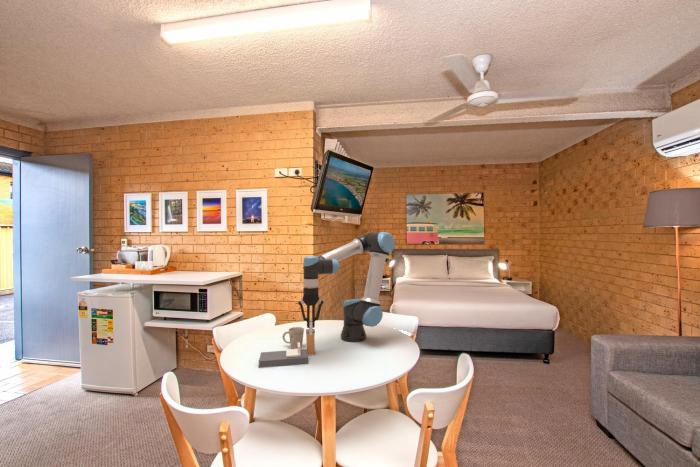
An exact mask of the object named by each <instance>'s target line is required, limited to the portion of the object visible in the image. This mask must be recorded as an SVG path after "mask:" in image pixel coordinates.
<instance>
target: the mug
mask: <svg viewBox="0 0 700 467" xmlns="http://www.w3.org/2000/svg"><path fill="white" fill-rule="evenodd" d="M304 333H305V328H304V327H300V326H293V327H290V328H289V329H288V330H287V331H284V333H283V334H282V340H283V342H284V343H286V344H289V345H290V349H298V342H300V349H302V347H303V342H304V341H303V340H304ZM287 334H289V335H288V336H289V341H287V340H286V339H285V336H286V335H287Z"/></svg>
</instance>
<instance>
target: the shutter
mask: <svg viewBox="0 0 700 467" xmlns="http://www.w3.org/2000/svg"><path fill="white" fill-rule="evenodd" d="M300 349H301V348H300V342H298V349H292V348H288V349H286V350H285V351H286V358H287V357H300V356H301V351H300Z"/></svg>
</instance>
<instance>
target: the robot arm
mask: <svg viewBox="0 0 700 467" xmlns="http://www.w3.org/2000/svg"><path fill="white" fill-rule="evenodd" d="M395 247H396V241H395V238H394V236H393V234H391V233H389V232H388V231H387V232H385V231H380V232H379V231H378V232H367V233H365V234H362V235H360V236H358V237H356V238H354V239H353V240H352V241H351V242H348V243H346V244H344V245H341V246H339V247H337V248H335V249H333V250H330V251H328V252H325V253H324V254H321V255H319V256H318V255H312V256H311V255H307V256H304V257H303V263H302V264H303V265H302V267H303V269H302V270H303V273H302V274H303V288H302V289H303V292H302V293H303V296H302V298H301V300H298V302H297V303H298V305H299V307H300V310H301V311H300V312H301V315H302V318H303V321H304V322H305V321H306V329H309V335H312V329H315V327H316V324H315V323H316V321H319V318H320V314H321V309H322V307H323V306H322V305H323V304H325V302H324V300H323V299H321V298H320V296H319V275H333V274H337V273H339V270H340V263H339V262H341V261H345V259H348V258H350V257H351V256H354V255H356V254H362V253H365V252H369V255H370V261H369V265H368V266H369V267H368V272H367V277H366V282H365V287H364V292H363V297H362V298H353V299H352V298H351V299H346V300H344V301H343V306H342V308H343V326H342V330H341V332H340V340H342V341H344V342H351V343H355V342H356V341H358V342H362V340H363V341H365V340H366V339H367V333H366V330H365V327H370V328H373V327H376V326H378V324H380V323H381V321H382V319H383V312H384V311H383V310H382V308H381V302H380V300H379V298H380V293H381V287H382V282H383V275H384V271H385V265H386V264H385V263H386V259H388V258H389V257H390V254H391V252H393V251H394V250H395ZM303 304H305V305H306V315H305V309H304V306H303ZM317 304H318V305H317ZM316 305H317V310H316ZM310 309H311V311H310ZM315 310H316V311H317V312H316V311H315ZM310 312H311V315H310ZM310 316H311V320H310ZM364 339H365V340H364ZM356 343H357V342H356Z"/></svg>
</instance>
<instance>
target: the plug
mask: <svg viewBox="0 0 700 467" xmlns="http://www.w3.org/2000/svg"><path fill="white" fill-rule="evenodd" d="M315 333H316V331H315V328H312V335H309V328H306V329H305V334H306V336H305V337H306V339H305V341H306V347H305V349H307V353H308V356H309V355H311V356H312V355H315V354H316V353H315V351H316V350H315V349H316V348H315V344H316V342H315Z"/></svg>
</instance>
